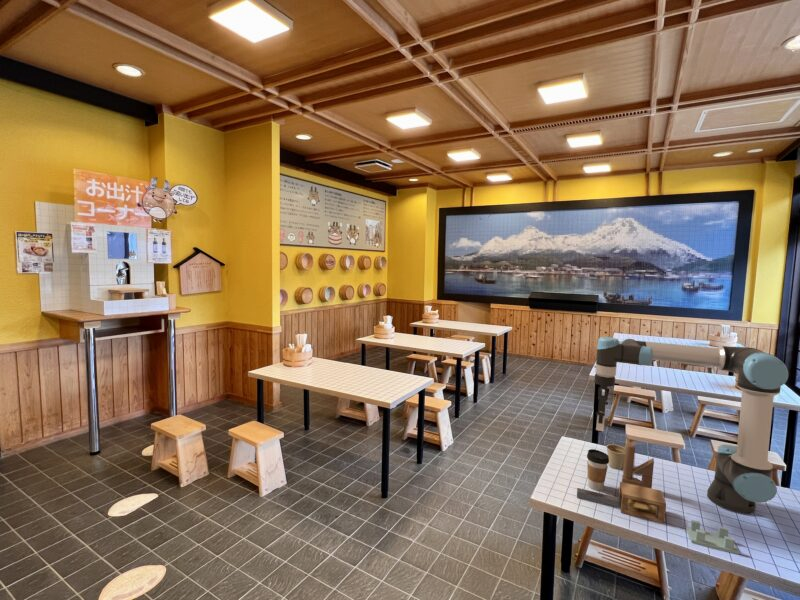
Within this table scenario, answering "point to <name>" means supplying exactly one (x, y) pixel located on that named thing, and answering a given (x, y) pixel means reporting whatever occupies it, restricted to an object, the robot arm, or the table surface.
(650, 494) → the box
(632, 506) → the gold metallic block
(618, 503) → the drift bar
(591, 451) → the coffee cup
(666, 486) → the table surface
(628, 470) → the wooden bracket
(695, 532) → the cradle
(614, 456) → the flower pot
